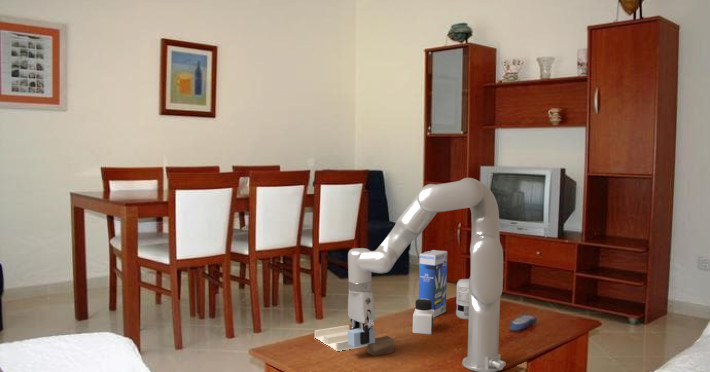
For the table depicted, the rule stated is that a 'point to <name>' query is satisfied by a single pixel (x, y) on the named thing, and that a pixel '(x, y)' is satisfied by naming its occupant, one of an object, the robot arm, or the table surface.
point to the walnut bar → (381, 346)
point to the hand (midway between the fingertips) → (361, 341)
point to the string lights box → (433, 279)
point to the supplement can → (462, 299)
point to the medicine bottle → (423, 317)
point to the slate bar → (355, 337)
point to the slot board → (336, 338)
